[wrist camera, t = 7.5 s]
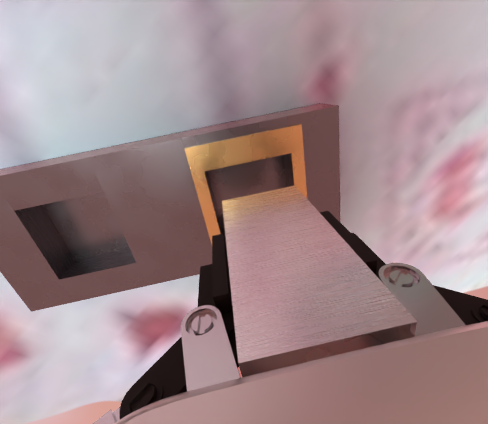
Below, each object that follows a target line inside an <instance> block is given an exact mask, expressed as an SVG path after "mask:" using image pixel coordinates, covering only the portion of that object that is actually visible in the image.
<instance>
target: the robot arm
mask: <svg viewBox="0 0 488 424" xmlns="http://www.w3.org/2000/svg"><path fill="white" fill-rule="evenodd" d="M319 213H320V214H321V215H322V216H323V217H324V218H325V219H326V220H327V222H328V223H329V224H330V225H331V226H332V227H333V228H334V229H335V230H336V232H337V233H338V234H339V235H340V236H341V237H342V238H343V239H344V240H345V242H346V243H347V244H348V245H349V246H350V247H351V248H352V249H353V250H354V252H355V253H356V254H357V255H358V256H359V257H360V258H361V259H362V261H363V262H364V263H365V264H366V265H367V266H368V267H369V268H370V269H371V271H372V272H373V273H374V274H375V275H376V276H377V277H378V278H379V279H380V281H381V282H382V283H383V284H384V285H385V286H386V287H387V288H388V289H389V291H390V292H391V293H392V294H393V295H394V296H395V297H396V298H397V300H398V301H399V302H400V303H401V304H402V305H403V306H404V307H405V308H406V310H407V311H408V312H409V313H410V314H411V315H412V316H413V317H414V318H415V320H416V321H417V327H416V333H415V337H412V338H408V339H403V340H399V341H394V342H390V343H386V344H381V345H377V346H373V347H368V348H364V349H360V350H356V351H351V352H347V353H343V354H339V355H334V356H330V357H326V358H322V359H317V360H313V361H309V362H305V363H300V364H296V365H292V366H288V367H284V368H279V369H275V370H271V371H267V372H263V373H259V374H254V375H250V376H246V377H242V378H241V377H240V374H239V371H238V367H239V364H238V355H237V345H236V335H235V326H234V316H233V306H232V296H231V286H230V276H229V266H228V256H227V246H226V236H224V233H223V234H218V235H214V236H212V264H209V265H205V266H201V267H200V279H199V295H198V307H197V308H195V309H193V310H191V311H190V312H189V313H188V314H187V315H186V316H185V317H184V319H183V321H182V323H181V336H182V337H181V338H180V339H179V340H178V341H177V342H176V343H175V344H174V345H173V346H172V347H171V348H170V349H169V350H168V351H167V352H166V353H165V354H164V355H163V356H162V357H161V358H160V359H159V360H158V361H157V362H156V363H155V364H154V365H153V366H152V367H151V368H150V369H149V370H148V371H147V372H146V373H145V374H144V375H143V376H142V377H141V378H140V379H139V380H138V381H137V382H136V383H135V384H134V385H133V386H132V387H131V388H130V389H129V391H128V392H127V393H126V395H125V397H124V399H123V400H122V403H121V406H120V407H119V408H118V409H117V410H116V411H114V412H112V410H110V411H108V412H107V413H106V414H105V415H103V416H102V417H101V418H99V419H98V420H97V421H96V422H94V423H93V424H488V300H486V299H482V298H479V297H475V296H471V295H468V294H464V293H460V292H456V291H453V290H449V289H445V288H441V287H438V286H434V285H432V284H431V283H430V281H429V280H428V279H427V278H426V277H425V275H424V274H423V273H422V272H421V271H420V270H418V269H416V268H415V267H413V266H410V265H407V264H402V263H390V264H385V263H384V262H383V261H382V260H381V259H380V258H379V257H378V256H377V255H376V254H375V253H374V252H373V251H372V250H371V249H370V248H369V247H368V246H367V245H366V244H365V243H364V242H363V241H362V240H361V239H360V238H359V237H358V236H357V235H355V234H354V233H350V232H349V231H348V230H347V229H346V228H345V227H344V226H343V225H342V224H341V223H340V222H339V221H338V220H337V219H336V218H335V217H334V216H333V215H332V214H331V213H330V212H329V211H324V212H319Z"/></svg>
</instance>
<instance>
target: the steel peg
mask: <svg viewBox="0 0 488 424" xmlns="http://www.w3.org/2000/svg"><path fill="white" fill-rule="evenodd" d="M222 207H223V216H224V226H225V236H226V246H227V256H228V266H229V276H230V286H231V296H232V306H233V316H234V326H235V335H236V345H237V355H238V364H239V367H240V371H241V374H242V377H246V376H250V375H254V374H259V373H263V372H267V371H271V370H275V369H279V368H284V367H288V366H292V365H296V364H300V363H305V362H309V361H313V360H317V359H322V358H326V357H330V356H334V355H339V354H343V353H347V352H351V351H356V350H360V349H364V348H368V347H373V346H377V345H381V344H386V343H390V342H394V341H399V340H403V339H408V338H412V337H415V333H416V327H417V321H416V320H415V318H414V317H413V316H412V315H411V314H410V313H409V312H408V311H407V310H406V308H405V307H404V306H403V305H402V304H401V303H400V302H399V301H398V300H397V298H396V297H395V296H394V295H393V294H392V293H391V292H390V291H389V289H388V288H387V287H386V286H385V285H384V284H383V283H382V282H381V281H380V279H379V278H378V277H377V276H376V275H375V274H374V273H373V272H372V271H371V269H370V268H369V267H368V266H367V265H366V264H365V263H364V262H363V261H362V259H361V258H360V257H359V256H358V255H357V254H356V253H355V252H354V250H353V249H352V248H351V247H350V246H349V245H348V244H347V243H346V242H345V240H344V239H343V238H342V237H341V236H340V235H339V234H338V233H337V232H336V230H335V229H334V228H333V227H332V226H331V225H330V224H329V223H328V222H327V220H326V219H325V218H324V217H323V216H322V215H321V214H320V213H319V212H318V210H317V209H316V208H315V207H314V206H313V205H312V204H311V203H310V201H309V200H308V199H307V198H306V197H305V196H304V195H303V194H302V193H301V191H300V190H299V189H298V188H297V187H296V186H295V185H294V186H290V187H285V188H280V189H276V190H271V191H266V192H262V193H257V194H252V195H248V196H243V197H238V198H234V199H229V200H224V201H222Z"/></svg>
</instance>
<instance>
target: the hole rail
mask: <svg viewBox="0 0 488 424" xmlns="http://www.w3.org/2000/svg"><path fill="white" fill-rule="evenodd" d="M294 185H295V186H296V187H297V188H298V189H299V190H300V191H301V193H302V194H303V195H304V196H305V197H306V198H307V199H308V200H309V201H310V203H311V204H312V205H313V206H314V207H315V208H316V209H317V210H318V212H324V211H329V212H330V213H331V214H332V215H333V216H334V217H335V218H336V219H337V220H338V221H339V222H340V180H339V106H337V105H329V104H320V103H319V104H314V105H310V106H305V107H300V108H295V109H290V110H285V111H281V112H276V113H271V114H266V115H261V116H256V117H251V118H247V119H242V120H237V121H232V122H227V123H222V124H218V125H213V126H208V127H203V128H198V129H193V130H188V131H184V132H179V133H174V134H169V135H164V136H159V137H155V138H150V139H145V140H140V141H135V142H130V143H125V144H121V145H116V146H111V147H106V148H101V149H96V150H92V151H87V152H82V153H77V154H72V155H67V156H62V157H58V158H53V159H48V160H43V161H38V162H33V163H29V164H24V165H19V166H14V167H9V168H4V169H0V272H1V273H2V274H3V276H4V277H5V278H6V279H7V281H8V282H9V283H10V285H11V286H12V287H13V288H14V290H15V291H16V292H17V294H18V295H19V296H20V297H21V299H22V300H23V301H24V303H25V304H26V305H27V307H28V308H29V309H30V310H31V311H35V310H40V309H44V308H49V307H53V306H58V305H62V304H67V303H71V302H76V301H80V300H85V299H89V298H94V297H98V296H103V295H107V294H112V293H116V292H121V291H125V290H130V289H134V288H139V287H143V286H148V285H152V284H157V283H161V282H166V281H170V280H175V279H179V278H184V277H188V276H193V275H197V274H200V267H201V266H205V265H209V264H212V236H214V235H218V234H223V233H224V236H225V226H224V216H223V207H222V201H224V200H229V199H234V198H238V197H243V196H248V195H252V194H257V193H262V192H266V191H271V190H276V189H280V188H285V187H290V186H294Z"/></svg>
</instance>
